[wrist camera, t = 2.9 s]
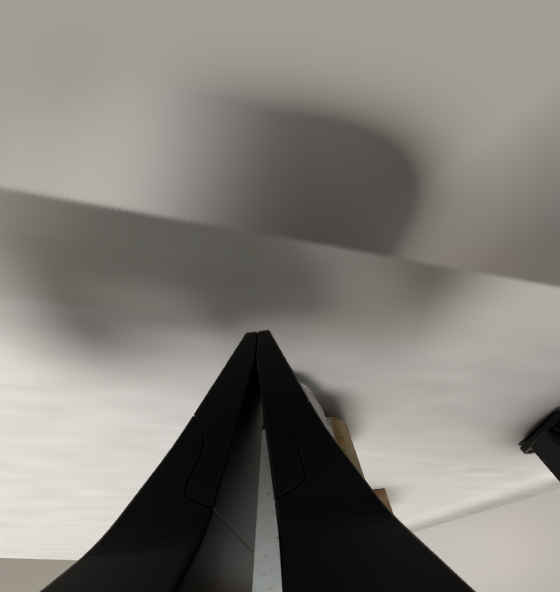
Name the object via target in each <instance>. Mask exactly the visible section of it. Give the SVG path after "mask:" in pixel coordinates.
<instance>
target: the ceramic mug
mask: <svg viewBox="0 0 560 592" xmlns="http://www.w3.org/2000/svg"><path fill="white" fill-rule="evenodd" d="M301 386H302V385H301ZM302 388H303V390H304V391H305V393H306V395H307V397H308V398H309V401H310V402H311V403H312V405H313V407H314V408H315V410H316V412H317V414H318V415H319V417H320V418H321V420H322V422H323V423H324V425H325V426H326V428H327V429H328V431H329V432H330V434H331V435H332V436H333V438H334V439H335V441H336V442H337V443H338V445H339V446H340V447H341V449H342V450H343V451H344V453H345V454H346V455H347V457H348V458H349V459H350V461H351V462H352V463H353V465H354V466H355V467H356V468H357V470H358V471H359V472H360V474H361V475H362V476H363V478H364V475H363V472H362V469H361V466H360V463H359V460H358V457H357V454H356V452H355V449H354V446H353V443H352V440H351V437H350V434H349V431H348V428H347V426H346V424H345V422H343V421H342V420H340V419H339V418H337V417H325V414H324V412H323V410H322V408H321V406H320V405H319V403H318V402H317V400H316V399H315V397H314V396H313V395H312V394H311V393H310V392H309V391H308V390H307V389H306V388H305V387H303V386H302ZM364 479H365V478H364ZM252 592H282V582H281V566H280V551H279V538H278V527H277V518H276V510H275V500H274V494H273V486H272V479H271V471H270V463H269V456H268V448H267V440H266V433H265V429H262V440H261V456H260V473H259V489H258V505H257V521H256V537H255V552H254V571H253V587H252Z"/></svg>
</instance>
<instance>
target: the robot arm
mask: <svg viewBox="0 0 560 592" xmlns="http://www.w3.org/2000/svg"><path fill="white" fill-rule="evenodd" d="M263 417H264V425H265V433H266V440H267V448H268V456H269V463H270V471H271V479H272V486H273V494H274V500H275V510H276V518H277V527H278V538H279V551H280V566H281V582H282V592H476V591H474V590H473V589H472V588H471V587H470V586H469V585H468V584H467V583H466V582H465V581H464V580H463V579H462V578H460V577H459V576H458V575H457V574H456V573H455V572H454V571H453V570H452V569H451V568H450V567H449V566H448V565H446V564H445V563H444V562H443V561H442V560H441V559H440V558H439V557H438V556H437V555H436V554H435V553H434V552H432V551H431V550H430V549H429V548H428V547H427V546H426V545H425V544H424V543H423V542H422V541H421V540H420V539H419V538H417V537H416V536H415V535H414V534H413V533H412V532H411V531H410V530H409V529H408V528H407V527H406V526H405V525H404V524H402V523H401V522H400V521H399V520H398V519H397V518H396V517H395V515H394V514H393V513H392V512H391V511H390V510H389V509H388V508H387V507H386V505H385V504H384V503H383V502H382V501H381V499H380V498H379V497H378V496H377V495H376V493H375V492H374V491H373V490H372V488H371V487H370V486H369V484H368V483H367V482H366V480H365V479H364V478H363V476H362V475H361V474H360V472H359V471H358V470H357V468H356V467H355V466H354V465H353V463H352V462H351V461H350V459H349V458H348V457H347V455H346V454H345V453H344V451H343V450H342V449H341V447H340V446H339V445H338V443H337V442H336V441H335V439H334V438H333V436H332V435H331V434H330V432H329V431H328V429H327V428H326V426H325V425H324V423H323V422H322V420H321V418H320V417H319V415H318V414H317V412H316V410H315V408H314V407H313V405H312V403H311V402H310V401H309V398H308V397H307V395H306V393H305V391H304V390H303V388H302V386H301V384H300V383H299V381H298V379H297V378H296V376H295V374H294V372H293V371H292V369H291V367H290V365H289V364H288V362H287V360H286V358H285V357H284V355H283V353H282V352H281V350H280V348H279V346H278V345H277V343H276V341H275V339H274V338H273V336H272V334H271V332H270V331H269V330H264V331H259V332H249V333H246V334H245V336H244V337H243V339H242V340H241V342H240V343H239V345H238V347H237V348H236V350H235V351H234V353H233V354H232V356H231V357H230V359H229V361H228V362H227V364H226V365H225V367H224V368H223V370H222V371H221V373H220V375H219V376H218V378H217V379H216V381H215V382H214V384H213V385H212V387H211V389H210V390H209V392H208V393H207V395H206V396H205V398H204V400H203V401H202V403H201V404H200V406H199V407H198V409H197V410H196V412H195V414H194V416H193V417H192V418H191V420H190V421H189V423H188V424H187V426H186V427H185V429H184V430H183V432H182V433H181V435H180V436H179V438H178V439H177V441H176V442H175V444H174V445H173V447H172V448H171V449H170V451H169V452H168V453H167V455H166V456H165V457H164V459H163V460H162V461H161V463H160V464H159V466H158V467H157V468H156V469H155V471H154V472H153V473H152V475H151V476H150V477H149V479H148V480H147V481H146V482H145V484H144V485H143V486H142V488H141V489H140V490H139V492H138V493H137V494H136V495H135V497H134V498H133V499H132V501H131V502H130V503H129V505H128V506H127V507H126V508H125V510H124V511H123V512H122V514H121V515H120V516H119V518H118V519H117V520H116V521H115V523H114V524H113V525H112V526H111V527H110V529H109V530H108V531H107V532H106V533H105V534H104V536H103V537H102V538H101V539H100V540H99V541H98V542H97V543H96V544H95V545H94V546H93V547H92V548H91V549H90V550H89V551H88V552H87V553H86V554H85V555H84V556H83V557H82V558H80V559H79V560H78V561H77V562H76V563H75V564H74V565H72V566H71V567H70V568H68V569H67V570H66V571H65V572H63V573H62V574H61V575H60V576H59V577H57V578H56V579H55V580H54V581H52V582H51V583H50V584H49V585H47V586H46V587H45V588H44V589H43V590H41V591H40V592H252V587H253V571H254V552H255V537H256V521H257V505H258V489H259V473H260V456H261V440H262V424H263ZM520 449H521V450H522V451H523V453H524V454H532V453H536V455H537V456H538V457H539V458H540V459H541V460H542V462H543V463H544V464H545V465H546V466H547V467H548V468H549V470H550V471H551V472H552V473H553V474H554V475H555V477H556V478H557V479H558V480H559V481H560V411H558V412H556V413H555V414H554V415H553V416H552V417H551V418H550V419H549V420H548V421H547V422H546V423H545V424H544V425H543V426H542V427H541V428H540V429H539V430H538V431H537V432H536V433H534V434H533V435H532V436H531V437H530V438H529V439H528V440H527V441H526V442H525V443H524V444H523V445H522V446H521V447H520Z"/></svg>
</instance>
